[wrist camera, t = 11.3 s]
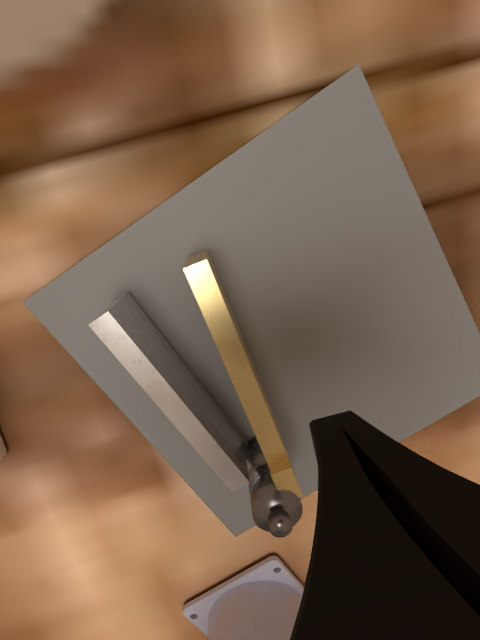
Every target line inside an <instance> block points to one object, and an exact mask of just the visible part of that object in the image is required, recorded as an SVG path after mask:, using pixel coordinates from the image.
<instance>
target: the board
mask: <svg viewBox="0 0 480 640" xmlns="http://www.w3.org/2000/svg"><path fill="white" fill-rule="evenodd" d="M205 250H208V252H209V254H210V257H211V259H212V262H213V264H214V267H215V269H216V272H217V274H218V277H219V279H220V281H221V284H222V286H223V289H224V291H225V294H226V296H227V299H228V301H229V304H230V306H231V309H232V311H233V314H234V316H235V319H236V321H237V324H238V326H239V328H240V331H241V333H242V336H243V338H244V341H245V343H246V346H247V348H248V351H249V353H250V356H251V358H252V361H253V363H254V366H255V368H256V371H257V373H258V376H259V378H260V380H261V383H262V385H263V388H264V390H265V393H266V395H267V398H268V400H269V403H270V405H271V408H272V410H273V413H274V415H275V418H276V420H277V423H278V426H279V429H280V432H281V436H282V439H283V442H284V445H285V448H286V451H287V453H288V455H289V458H290V460H291V463H292V465H293V468H294V470H295V474H296V477H297V480H298V483H299V486H300V489H301V492H302V495H303V496H302V497H299V498H300V499H302V498H304V497H305V496H307V495H309V494H311V493H312V492H314V491H316V490H317V489H318V464H317V459H316V455H315V450H314V445H313V441H312V436H311V431H310V427H309V424H310V422H311V421H312V420H315V419H319V418H323V417H326V416H330V415H334V414H338V413H342V412H346V411H349V410H351V411H352V412H354V413H355V414H357V415H358V416H360V417H361V418H362V419H364V420H365V421H367V422H368V423H370V424H371V425H373V426H374V427H376V428H377V429H379V430H380V431H382V432H383V433H385V434H386V435H388V436H389V437H391V438H392V439H394V440H395V441H397V442H401V441H402V440H404V439H406V438H407V437H409V436H411V435H413V434H414V433H416V432H418V431H420V430H421V429H423V428H425V427H427V426H428V425H430V424H432V423H433V422H435V421H437V420H439V419H440V418H442V417H444V416H446V415H447V414H449V413H451V412H453V411H454V410H456V409H458V408H459V407H461V406H463V405H465V404H466V403H468V402H470V401H472V400H473V399H475V398H477V397H478V396H480V333H479V331H478V329H477V327H476V324H475V322H474V320H473V318H472V315H471V313H470V311H469V309H468V307H467V304H466V302H465V300H464V298H463V295H462V293H461V291H460V289H459V286H458V284H457V282H456V280H455V278H454V275H453V273H452V271H451V269H450V266H449V264H448V262H447V260H446V258H445V255H444V253H443V251H442V249H441V246H440V244H439V242H438V240H437V237H436V235H435V233H434V231H433V229H432V226H431V224H430V222H429V220H428V217H427V215H426V213H425V211H424V208H423V206H422V204H421V202H420V200H419V197H418V195H417V193H416V191H415V188H414V186H413V184H412V182H411V180H410V177H409V175H408V173H407V171H406V168H405V166H404V164H403V162H402V159H401V157H400V155H399V153H398V151H397V148H396V146H395V144H394V142H393V139H392V137H391V135H390V133H389V131H388V128H387V126H386V124H385V122H384V119H383V117H382V115H381V113H380V110H379V108H378V106H377V104H376V102H375V99H374V97H373V95H372V93H371V90H370V88H369V86H368V84H367V81H366V79H365V77H364V75H363V73H362V70H361V68H360V66H359V64H358V65H357V66H355V67H354V68H352V69H351V70H350V71H348V72H347V73H345V74H344V75H343V76H341V77H340V78H338V79H337V80H336V81H334V82H333V83H331V84H330V85H328V86H327V87H326V88H324V89H323V90H321V91H320V92H319V93H317V94H316V95H314V96H313V97H312V98H310V99H309V100H307V101H306V102H305V103H303V104H302V105H300V106H299V107H297V108H296V109H295V110H293V111H292V112H290V113H289V114H288V115H286V116H285V117H283V118H282V119H281V120H279V121H278V122H276V123H275V124H274V125H272V126H271V127H269V128H268V129H266V130H265V131H264V132H262V133H261V134H259V135H258V136H257V137H255V138H254V139H252V140H251V141H250V142H248V143H247V144H245V145H244V146H242V147H241V148H240V149H238V150H237V151H235V152H234V153H233V154H231V155H230V156H228V157H227V158H226V159H224V160H223V161H221V162H220V163H219V164H217V165H216V166H214V167H213V168H211V169H210V170H209V171H207V172H206V173H204V174H203V175H202V176H200V177H199V178H197V179H196V180H195V181H193V182H192V183H190V184H189V185H187V186H186V187H185V188H183V189H182V190H180V191H179V192H178V193H176V194H175V195H173V196H172V197H171V198H169V199H168V200H166V201H165V202H164V203H162V204H161V205H159V206H158V207H156V208H155V209H154V210H152V211H151V212H149V213H148V214H147V215H145V216H144V217H142V218H141V219H140V220H138V221H137V222H135V223H134V224H133V225H131V226H130V227H128V228H127V229H125V230H124V231H123V232H121V233H120V234H118V235H117V236H116V237H114V238H113V239H111V240H110V241H109V242H107V243H106V244H104V245H103V246H101V247H100V248H99V249H97V250H96V251H94V252H93V253H92V254H90V255H89V256H87V257H86V258H85V259H83V260H82V261H80V262H79V263H78V264H76V265H75V266H73V267H72V268H70V269H69V270H68V271H66V272H65V273H63V274H62V275H61V276H59V277H58V278H56V279H55V280H54V281H52V282H51V283H49V284H48V285H47V286H45V287H44V288H42V289H41V290H39V291H38V292H37V293H35V294H34V295H32V296H31V297H30V298H28V299H27V300H25V301H24V302H23V303H24V304H25V305H26V306H27V307H28V309H29V310H30V311H31V312H32V313H33V314H34V315H35V316H36V317H37V318H38V320H39V321H40V322H41V323H42V324H43V325H44V326H45V327H46V328H47V329H48V331H49V332H50V333H51V334H52V335H53V336H54V337H55V338H56V339H57V340H58V342H59V343H60V344H61V345H62V346H63V347H64V348H65V349H66V350H67V352H68V353H69V354H70V355H71V356H72V357H73V358H74V359H75V360H76V361H77V363H78V364H79V365H80V366H81V367H82V368H83V369H84V370H85V371H86V372H87V374H88V375H89V376H90V377H91V378H92V379H93V380H94V381H95V382H96V383H97V385H98V386H99V387H100V388H101V389H102V390H103V391H104V392H105V393H106V394H107V396H108V397H109V398H110V399H111V400H112V401H113V402H114V403H115V404H116V406H117V407H118V408H119V409H120V410H121V411H122V412H123V413H124V414H125V415H126V417H127V418H128V419H129V420H130V421H131V422H132V423H133V424H134V425H135V426H136V428H137V429H138V430H139V431H140V432H141V433H142V434H143V435H144V436H145V437H146V439H147V440H148V441H149V442H150V443H151V444H152V445H153V446H154V447H155V449H156V450H157V451H158V452H159V453H160V454H161V455H162V456H163V457H164V458H165V460H166V461H167V462H168V463H169V464H170V465H171V466H172V467H173V468H174V469H175V471H176V472H177V473H178V474H179V475H180V476H181V477H182V478H183V479H184V480H185V482H186V483H187V484H188V485H189V486H190V487H191V488H192V489H193V490H194V491H195V493H196V494H197V495H198V496H199V497H200V498H201V499H202V500H203V501H204V503H205V504H206V505H207V506H208V507H209V508H210V509H211V510H212V511H213V512H214V514H215V515H216V516H217V517H218V518H219V519H220V520H221V521H222V522H223V523H224V525H225V526H226V527H227V528H228V529H229V530H230V531H231V532H232V533H233V534H234V536H235V537H236V536H238V535H240V534H241V533H243V532H245V531H246V530H248V529H250V528H252V527H253V526H255V525H256V524H255V522H254V520H253V516H252V509H251V501H250V494H249V487H248V484H246V485H245V486H243V487H241V488H240V489H238V490H236V491H235V492H233V493H232V492H231V491H230V489H229V488H228V487H227V486H226V485H225V484H224V482H223V481H222V480H221V479H220V478H219V477H218V475H217V474H216V473H215V472H214V471H213V470H212V468H211V467H210V466H209V465H208V464H207V463H206V462H205V460H204V459H203V458H202V457H201V456H200V455H199V453H198V452H197V451H196V450H195V449H194V448H193V446H192V445H191V444H190V443H189V442H188V441H187V439H186V438H185V437H184V436H183V435H182V434H181V432H180V431H179V430H178V429H177V428H176V427H175V425H174V424H173V423H172V422H171V421H170V420H169V418H168V417H167V416H166V415H165V414H164V413H163V412H162V410H161V409H160V408H159V407H158V406H157V405H156V403H155V402H154V401H153V400H152V399H151V398H150V396H149V395H148V394H147V393H146V392H145V391H144V389H143V388H142V387H141V386H140V385H139V384H138V382H137V381H136V380H135V379H134V378H133V377H132V375H131V374H130V373H129V372H128V371H127V370H126V368H125V367H124V366H123V365H122V364H121V363H120V361H119V360H118V359H117V358H116V357H115V356H114V355H113V353H112V352H111V351H110V350H109V349H108V348H107V346H106V345H105V344H104V343H103V342H102V341H101V339H100V338H99V337H98V336H97V335H96V334H95V332H94V331H93V330H92V329H91V328H90V327H89V325H88V324H89V323H90V322H92V321H93V320H94V319H95V318H96V317H97V316H98V315H99V314H100V313H101V312H102V311H103V310H104V309H105V308H107V307H108V306H109V305H110V304H111V303H112V302H113V301H115V300H116V299H118V298H119V297H121V296H122V295H124V294H125V293H127V292H129V294H130V295H131V296H132V297H133V299H134V300H135V301H136V303H137V304H138V305H139V306H140V308H141V309H142V310H143V311H144V313H145V314H146V315H147V316H148V318H149V319H150V320H151V322H152V323H153V324H154V325H155V327H156V328H157V329H158V330H159V332H160V333H161V334H162V335H163V337H164V338H165V339H166V341H167V342H168V343H169V344H170V346H171V347H172V348H173V349H174V351H175V352H176V353H177V354H178V356H179V357H180V358H181V360H182V361H183V362H184V363H185V365H186V366H187V367H188V368H189V370H190V371H191V372H192V373H193V375H194V376H195V377H196V378H197V380H198V381H199V382H200V384H201V385H202V386H203V387H204V389H205V390H206V391H207V392H208V394H209V395H210V396H211V397H212V399H213V400H214V401H215V403H216V404H217V405H218V406H219V408H220V409H221V410H222V411H223V413H224V414H225V415H226V416H227V418H228V419H229V420H230V422H231V423H232V424H233V425H234V427H235V428H236V429H237V430H238V431H240V432H241V434H242V435H243V436H244V438H245V439H246V440H247V441H249V440H250V439H251V438H252V437H254V436H255V434H254V431H253V429H252V427H251V424H250V422H249V420H248V417H247V415H246V413H245V411H244V408H243V406H242V404H241V401H240V399H239V397H238V394H237V392H236V390H235V388H234V385H233V383H232V381H231V378H230V376H229V374H228V371H227V369H226V367H225V364H224V362H223V360H222V358H221V355H220V353H219V351H218V348H217V346H216V344H215V341H214V339H213V337H212V335H211V332H210V330H209V328H208V325H207V323H206V321H205V318H204V316H203V314H202V312H201V309H200V307H199V305H198V302H197V300H196V298H195V295H194V293H193V291H192V289H191V286H190V284H189V282H188V279H187V277H186V275H185V272H184V270H183V267H184V265H185V263H186V261H187V259H188V257H190V256H192V255H195V254H197V253H200V252H202V251H205Z"/></svg>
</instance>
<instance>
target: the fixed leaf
mask: <svg viewBox="0 0 480 640" xmlns="http://www.w3.org/2000/svg"><path fill="white" fill-rule="evenodd" d="M88 325H89V327H90V328H91V329H92V330H93V331H94V332H95V334H96V335H97V336H98V337H99V338H100V339H101V341H102V342H103V343H104V344H105V345H106V346H107V348H108V349H109V350H110V351H111V352H112V353H113V355H114V356H115V357H116V358H117V359H118V360H119V361H120V363H121V364H122V365H123V366H124V367H125V368H126V370H127V371H128V372H129V373H130V374H131V375H132V377H133V378H134V379H135V380H136V381H137V382H138V384H139V385H140V386H141V387H142V388H143V389H144V391H145V392H146V393H147V394H148V395H149V396H150V398H151V399H152V400H153V401H154V402H155V403H156V405H157V406H158V407H159V408H160V409H161V410H162V412H163V413H164V414H165V415H166V416H167V417H168V418H169V420H170V421H171V422H172V423H173V424H174V425H175V427H176V428H177V429H178V430H179V431H180V432H181V434H182V435H183V436H184V437H185V438H186V439H187V441H188V442H189V443H190V444H191V445H192V446H193V448H194V449H195V450H196V451H197V452H198V453H199V455H200V456H201V457H202V458H203V459H204V460H205V462H206V463H207V464H208V465H209V466H210V467H211V468H212V470H213V471H214V472H215V473H216V474H217V475H218V477H219V478H220V479H221V480H222V481H223V482H224V484H225V485H226V486H227V487H228V488H229V489H230V491H231V492H232V493H233V492H235V491H236V490H238V489H240V488H241V487H243V486H245V485H246V484H248V483H250V481H249V477H250V475H251V473H252V472H253V471H254V470H255V469H256V468H257V467H259V466H261V465H263V464H266V463H267V461H266V459H265V457H264V454H263V452H262V450H261V447H260V445H259V443H258V440H257V438H256V436H254V437H252V438H251V439H250V440H249V441H247V440H246V439H245V438H244V436H243V435H242V434H241V432H240V431H238V430H237V429H236V428H235V427H234V425H233V424H232V423H231V422H230V420H229V419H228V418H227V416H226V415H225V414H224V413H223V411H222V410H221V409H220V408H219V406H218V405H217V404H216V403H215V401H214V400H213V399H212V397H211V396H210V395H209V394H208V392H207V391H206V390H205V389H204V387H203V386H202V385H201V384H200V382H199V381H198V380H197V378H196V377H195V376H194V375H193V373H192V372H191V371H190V370H189V368H188V367H187V366H186V365H185V363H184V362H183V361H182V360H181V358H180V357H179V356H178V354H177V353H176V352H175V351H174V349H173V348H172V347H171V346H170V344H169V343H168V342H167V341H166V339H165V338H164V337H163V335H162V334H161V333H160V332H159V330H158V329H157V328H156V327H155V325H154V324H153V323H152V322H151V320H150V319H149V318H148V316H147V315H146V314H145V313H144V311H143V310H142V309H141V308H140V306H139V305H138V304H137V303H136V301H135V300H134V299H133V297H132V296H131V295H130V294H129V292H127V293H125V294H124V295H122V296H121V297H119V298H118V299H116V300H115V301H113V302H112V303H111V304H110V305H109V306H108V307H107V308H105V309H104V310H103V311H102V312H101V313H100V314H99V315H98V316H97V317H96V318H95V319H94V320H93V321H92V322H90V323H89V324H88ZM268 521H269V527H270V532H271V534H272V535H273V536H275V537H285V536H287V535H288V534H289V533H290V532H291V531H292V525H291V521H290V517H289V514H288V512H287V511H285V510H282V509H277V510H274V511H272V512H271V513H270V514H269V516H268Z"/></svg>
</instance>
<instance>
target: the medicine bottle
mask: <svg viewBox="0 0 480 640" xmlns="http://www.w3.org/2000/svg"><path fill="white" fill-rule="evenodd" d="M6 452H7V451H6V447H5V445H4V442H3V439H2V437H1V434H0V461H1V460H2V459H3V458H4V456H5V455H6Z"/></svg>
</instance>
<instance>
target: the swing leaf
mask: <svg viewBox="0 0 480 640" xmlns="http://www.w3.org/2000/svg"><path fill="white" fill-rule="evenodd" d="M183 270H184V272H185V275H186V277H187V279H188V282H189V284H190V286H191V289H192V291H193V293H194V295H195V298H196V300H197V302H198V305H199V307H200V309H201V312H202V314H203V316H204V318H205V321H206V323H207V325H208V328H209V330H210V332H211V335H212V337H213V339H214V341H215V344H216V346H217V348H218V351H219V353H220V355H221V358H222V360H223V362H224V364H225V367H226V369H227V371H228V374H229V376H230V378H231V381H232V383H233V385H234V388H235V390H236V392H237V394H238V397H239V399H240V401H241V404H242V406H243V408H244V411H245V413H246V415H247V417H248V420H249V422H250V424H251V427H252V429H253V431H254V434H255V436H256V438H257V440H258V443H259V445H260V447H261V450H262V452H263V454H264V457H265V459H266V461H267V463H266V464H263V465H261V466H259V467H257V468H256V469H255V470H254V471H253V472H252V473H251V475H250V477H249V481H250V483H248V487H249V494H250V501H251V509H252V516H253V520H254V522H255V524H256V525H257V526H258V527H259V528H261V529H263V530H265V531H269V532H270V527H269V521H268V516H269V514H270V513H271V512H272V511H274V510H277V509H282V510H285V511H287V512H288V514H289V517H290V521H291V525H292V527H293V526H294V525H295V524H296V523H297V522H298V521H299V519H300V518H301V515H302V505H301V501H300V498H299V497H302V496H303V495H302V492H301V489H300V486H299V483H298V480H297V477H296V474H295V470H294V468H293V465H292V463H291V460H290V458H289V455H288V453H287V451H286V448H285V445H284V442H283V439H282V436H281V432H280V429H279V426H278V423H277V420H276V418H275V415H274V413H273V410H272V408H271V405H270V403H269V400H268V398H267V395H266V393H265V390H264V388H263V385H262V383H261V380H260V378H259V376H258V373H257V371H256V368H255V366H254V363H253V361H252V358H251V356H250V353H249V351H248V348H247V346H246V343H245V341H244V338H243V336H242V333H241V331H240V328H239V326H238V324H237V321H236V319H235V316H234V314H233V311H232V309H231V306H230V304H229V301H228V299H227V296H226V294H225V291H224V289H223V286H222V284H221V281H220V279H219V277H218V274H217V272H216V269H215V267H214V264H213V262H212V259H211V257H210V254H209V252H208V250H205V251H202V252H200V253H197V254H195V255H192V256H190V257H188V259H187V261H186V263H185V265H184V267H183Z"/></svg>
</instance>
